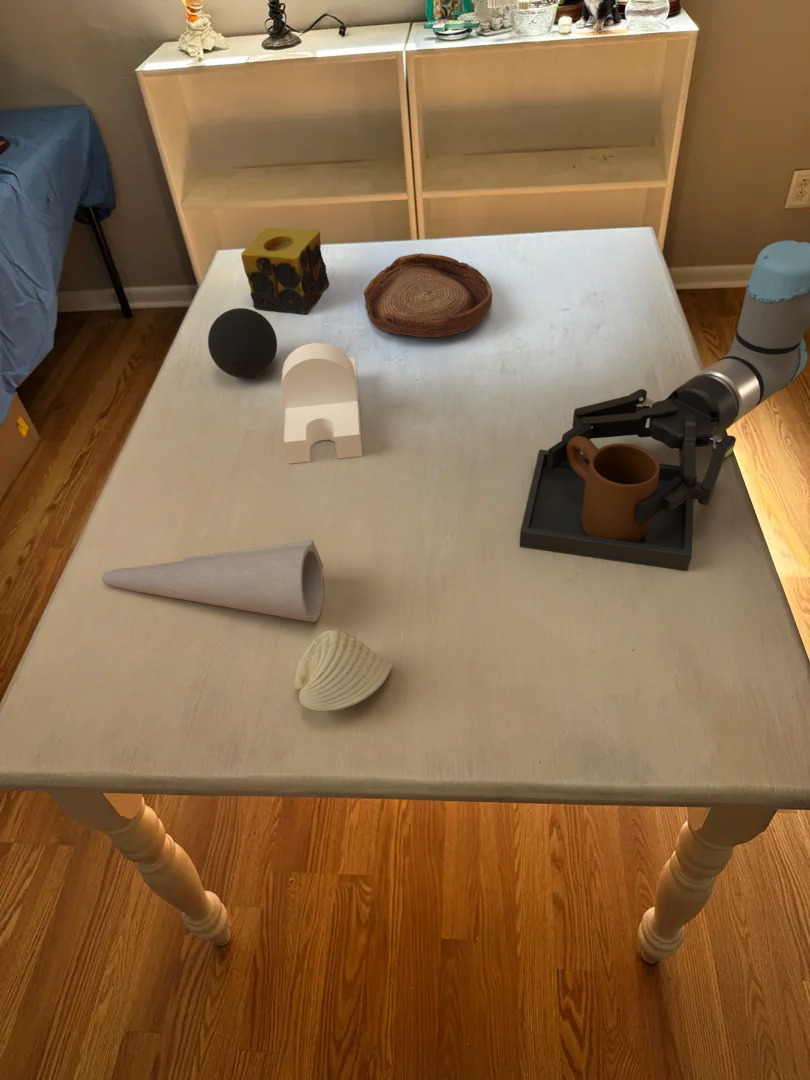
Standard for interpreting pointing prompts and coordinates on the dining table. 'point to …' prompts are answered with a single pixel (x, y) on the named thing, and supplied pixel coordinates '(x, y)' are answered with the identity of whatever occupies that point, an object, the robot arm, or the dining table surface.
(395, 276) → the basket
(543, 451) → the tray
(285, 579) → the planter
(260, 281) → the candle
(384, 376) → the dining table surface
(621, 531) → the mug
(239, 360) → the speaker
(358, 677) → the seashell
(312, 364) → the block with arch cutout
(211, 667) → the dining table surface
